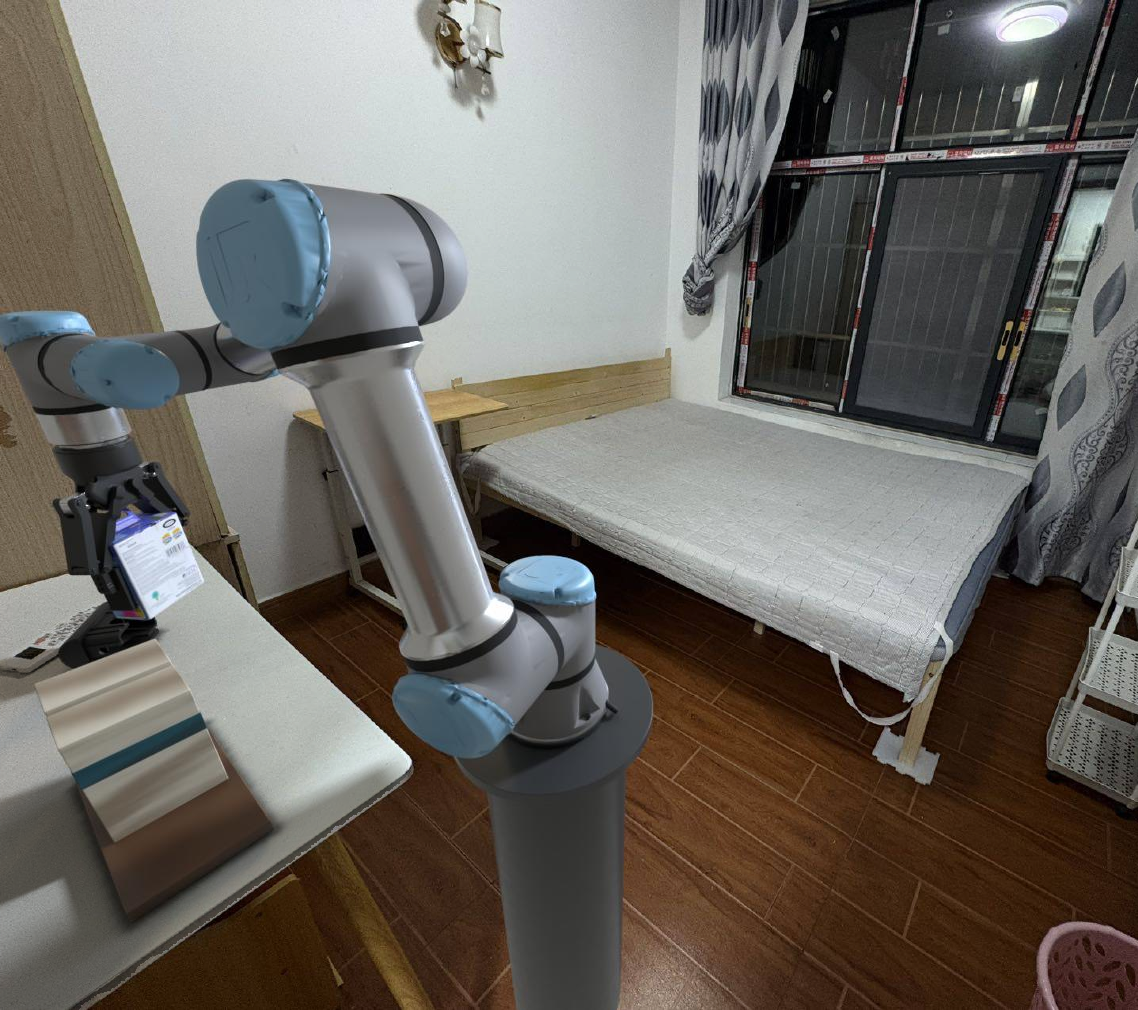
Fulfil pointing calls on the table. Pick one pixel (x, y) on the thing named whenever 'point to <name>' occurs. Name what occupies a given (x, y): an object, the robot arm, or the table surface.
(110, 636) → the end cap
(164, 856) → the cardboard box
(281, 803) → the table surface
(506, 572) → the robot arm
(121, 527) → the ink cartridge box
